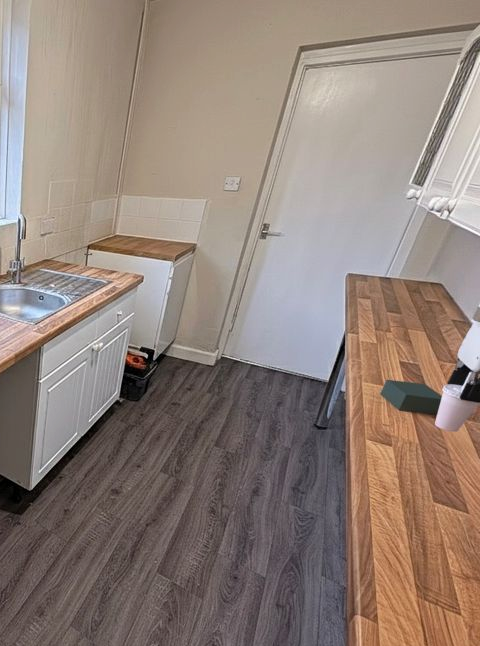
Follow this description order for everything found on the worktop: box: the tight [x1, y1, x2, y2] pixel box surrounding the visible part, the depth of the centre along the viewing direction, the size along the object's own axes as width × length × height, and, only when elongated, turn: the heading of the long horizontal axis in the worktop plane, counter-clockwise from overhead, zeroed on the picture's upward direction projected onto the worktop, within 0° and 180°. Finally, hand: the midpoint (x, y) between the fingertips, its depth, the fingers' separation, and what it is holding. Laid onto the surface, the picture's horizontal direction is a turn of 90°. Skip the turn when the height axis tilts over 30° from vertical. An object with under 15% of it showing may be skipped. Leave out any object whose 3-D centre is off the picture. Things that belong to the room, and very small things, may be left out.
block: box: [379, 379, 442, 416], centre depth 117 cm, size 9×9×5 cm
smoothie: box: [434, 372, 480, 433], centre depth 93 cm, size 6×6×14 cm
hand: (463, 393), depth 92 cm, fingers closed on smoothie, 6 cm apart
